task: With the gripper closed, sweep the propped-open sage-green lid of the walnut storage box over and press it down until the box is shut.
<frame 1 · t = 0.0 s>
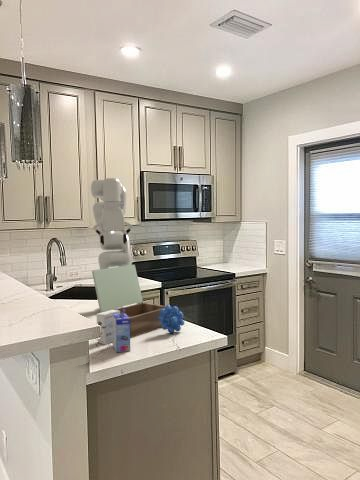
hand: (113, 244, 177), 37 cm above the counter, tool pointing down, fingers open, 9 cm apart
ink cartridge box: (122, 348, 147), on the counter
grapes: (172, 333, 164), on the counter
storage box: (138, 327, 175), on the counter
lid: (117, 286, 183), point 17 cm above the counter, hinge at 105.0°
ink box: (109, 341, 157), on the counter
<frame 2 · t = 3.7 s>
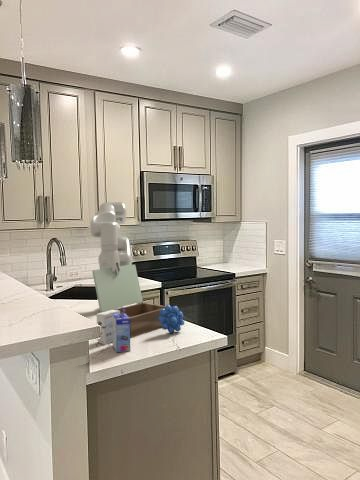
hand: (111, 287, 186), 17 cm above the counter, tool pointing down, fingers closed
lid: (118, 286, 182), point 17 cm above the counter, hinge at 104.1°, touching gripper
everything else where it was.
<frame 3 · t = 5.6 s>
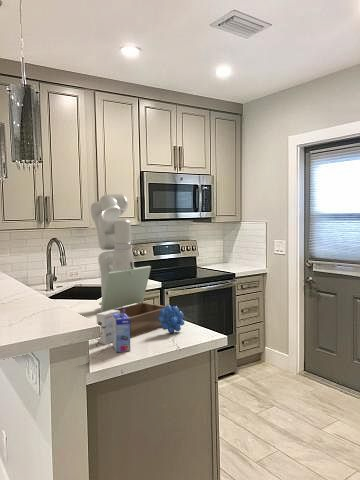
hand: (124, 286, 180), 17 cm above the counter, tool pointing down, fingers closed
lid: (126, 287, 179), point 18 cm above the counter, hinge at 69.2°, touching gripper
everything else where it was.
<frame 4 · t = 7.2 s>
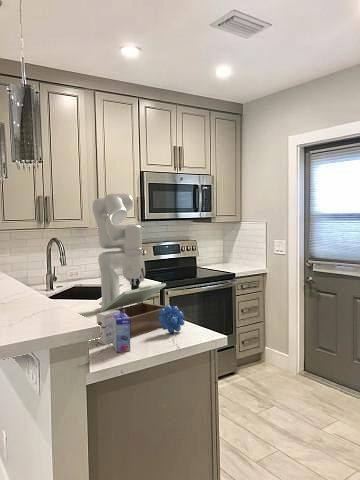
hand: (135, 293, 175), 15 cm above the counter, tool pointing down, fingers closed
lid: (134, 296, 175), point 14 cm above the counter, hinge at 30.3°, touching gripper
everything else where it was.
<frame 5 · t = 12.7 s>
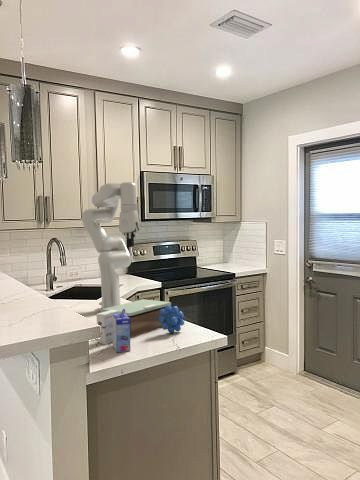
hand: (130, 246, 189), 35 cm above the counter, tool pointing down, fingers closed
lid: (137, 306, 174), point 10 cm above the counter, hinge at 2.0°
everything else where it was.
at the end: lid at +2° (first picture: +105°) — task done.
